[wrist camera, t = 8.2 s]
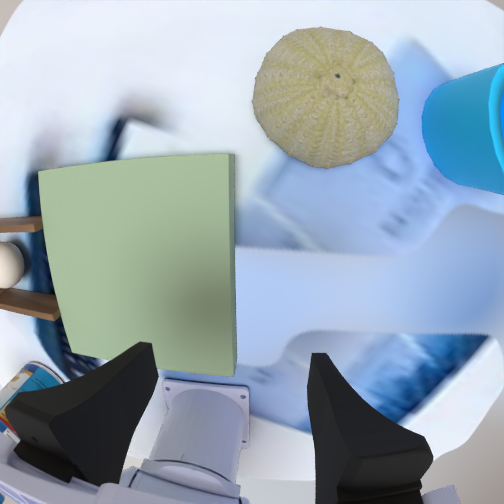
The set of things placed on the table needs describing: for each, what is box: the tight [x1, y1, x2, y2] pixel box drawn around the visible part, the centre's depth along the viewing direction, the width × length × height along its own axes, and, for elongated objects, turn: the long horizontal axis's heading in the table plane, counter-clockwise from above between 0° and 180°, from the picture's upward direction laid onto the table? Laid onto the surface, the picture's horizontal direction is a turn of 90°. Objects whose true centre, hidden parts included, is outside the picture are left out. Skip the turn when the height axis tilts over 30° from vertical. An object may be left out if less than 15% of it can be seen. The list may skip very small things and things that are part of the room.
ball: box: [0, 242, 24, 288], centre depth 22 cm, size 4×4×4 cm
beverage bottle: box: [0, 363, 63, 504], centre depth 19 cm, size 8×8×20 cm
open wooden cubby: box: [0, 216, 61, 321], centre depth 21 cm, size 11×11×7 cm
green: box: [38, 154, 237, 377], centre depth 21 cm, size 16×15×2 cm
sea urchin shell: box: [252, 27, 400, 169], centre depth 16 cm, size 9×8×8 cm
